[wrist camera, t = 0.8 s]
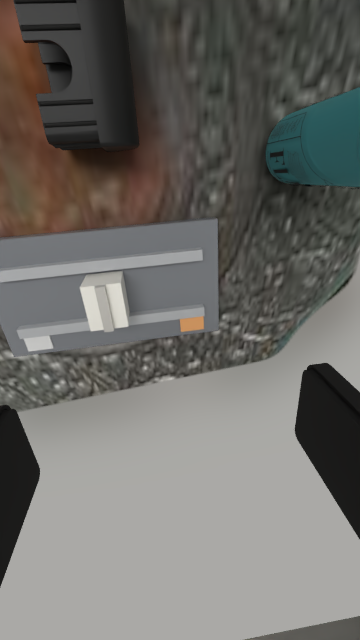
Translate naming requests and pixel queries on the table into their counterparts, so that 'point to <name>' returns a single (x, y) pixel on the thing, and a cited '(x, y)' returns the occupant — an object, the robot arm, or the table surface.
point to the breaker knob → (105, 301)
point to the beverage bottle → (318, 144)
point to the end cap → (83, 72)
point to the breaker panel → (101, 257)
